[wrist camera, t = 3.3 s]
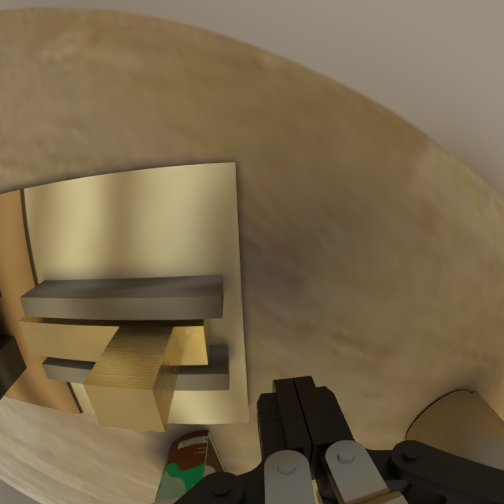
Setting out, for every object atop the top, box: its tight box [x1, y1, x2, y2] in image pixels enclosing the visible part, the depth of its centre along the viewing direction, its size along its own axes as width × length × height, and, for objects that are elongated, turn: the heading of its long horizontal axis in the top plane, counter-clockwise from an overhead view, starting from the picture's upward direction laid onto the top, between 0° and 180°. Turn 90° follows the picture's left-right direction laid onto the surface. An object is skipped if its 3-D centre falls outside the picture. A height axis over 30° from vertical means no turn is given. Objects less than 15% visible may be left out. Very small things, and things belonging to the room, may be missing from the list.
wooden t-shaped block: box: [18, 316, 211, 432], centre depth 14 cm, size 12×2×7 cm, turn 92°
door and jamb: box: [0, 162, 249, 424], centre depth 16 cm, size 24×18×7 cm
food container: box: [152, 430, 226, 504], centre depth 19 cm, size 12×6×10 cm, turn 9°
